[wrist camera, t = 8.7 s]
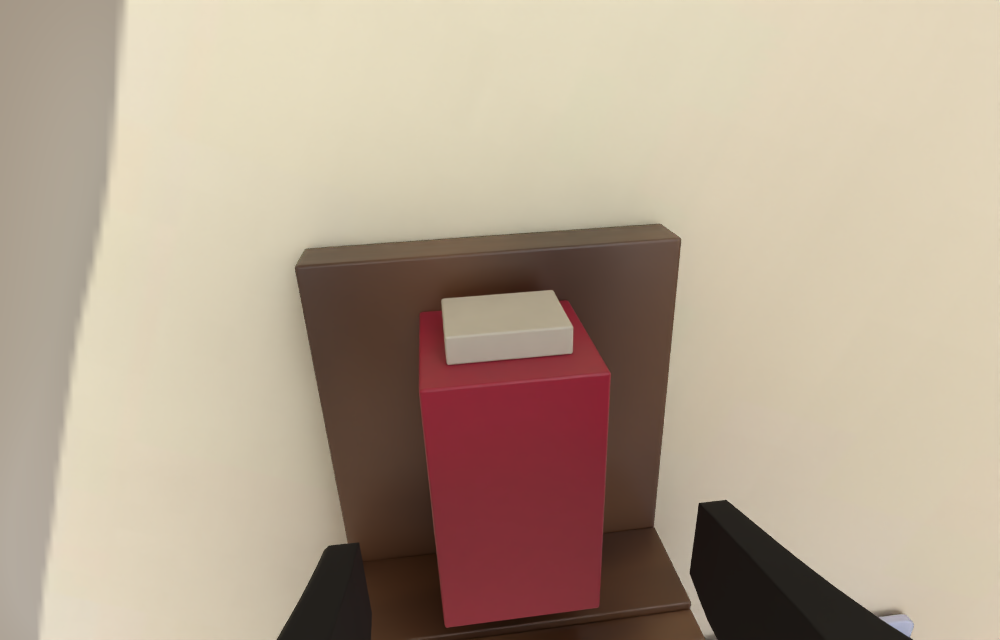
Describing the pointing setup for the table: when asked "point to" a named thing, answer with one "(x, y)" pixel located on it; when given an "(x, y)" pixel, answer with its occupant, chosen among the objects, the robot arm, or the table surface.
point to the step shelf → (398, 422)
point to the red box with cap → (514, 455)
